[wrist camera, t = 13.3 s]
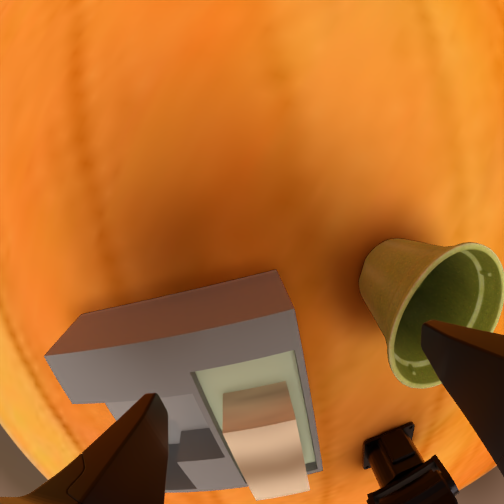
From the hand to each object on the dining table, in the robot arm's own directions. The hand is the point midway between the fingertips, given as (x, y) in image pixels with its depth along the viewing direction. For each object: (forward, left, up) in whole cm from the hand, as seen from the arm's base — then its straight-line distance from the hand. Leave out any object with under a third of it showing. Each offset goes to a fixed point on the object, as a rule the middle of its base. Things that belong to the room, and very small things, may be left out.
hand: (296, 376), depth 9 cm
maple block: (-11, +2, -7) cm, 13 cm away
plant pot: (-4, -10, -13) cm, 17 cm away
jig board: (-9, +7, -13) cm, 17 cm away
